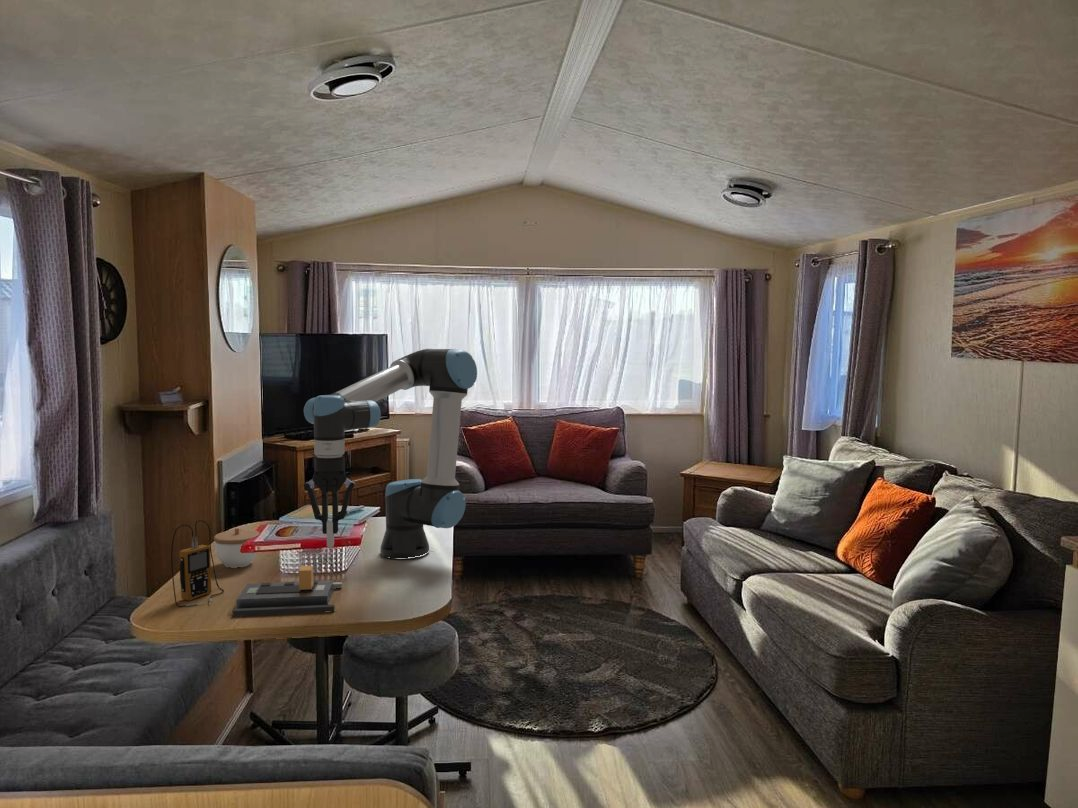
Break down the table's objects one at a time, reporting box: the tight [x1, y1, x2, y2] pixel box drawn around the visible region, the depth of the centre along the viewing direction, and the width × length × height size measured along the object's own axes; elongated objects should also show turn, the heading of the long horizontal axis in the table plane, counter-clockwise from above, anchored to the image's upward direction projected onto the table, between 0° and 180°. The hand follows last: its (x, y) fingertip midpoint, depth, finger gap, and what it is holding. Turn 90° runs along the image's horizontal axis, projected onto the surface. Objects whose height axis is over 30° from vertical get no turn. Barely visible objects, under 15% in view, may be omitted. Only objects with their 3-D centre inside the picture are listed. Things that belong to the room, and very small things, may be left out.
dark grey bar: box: [232, 604, 336, 617], centre depth 190 cm, size 24×1×1 cm, turn 98°
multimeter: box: [170, 519, 225, 608], centre depth 199 cm, size 15×10×20 cm
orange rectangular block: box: [298, 565, 315, 590], centre depth 199 cm, size 3×4×5 cm
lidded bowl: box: [213, 527, 260, 569], centre depth 229 cm, size 13×13×11 cm
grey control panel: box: [235, 580, 334, 609], centre depth 199 cm, size 22×12×3 cm, turn 98°
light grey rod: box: [333, 581, 343, 590], centre depth 208 cm, size 24×1×1 cm, turn 98°
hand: (330, 545), depth 199 cm, fingers closed
